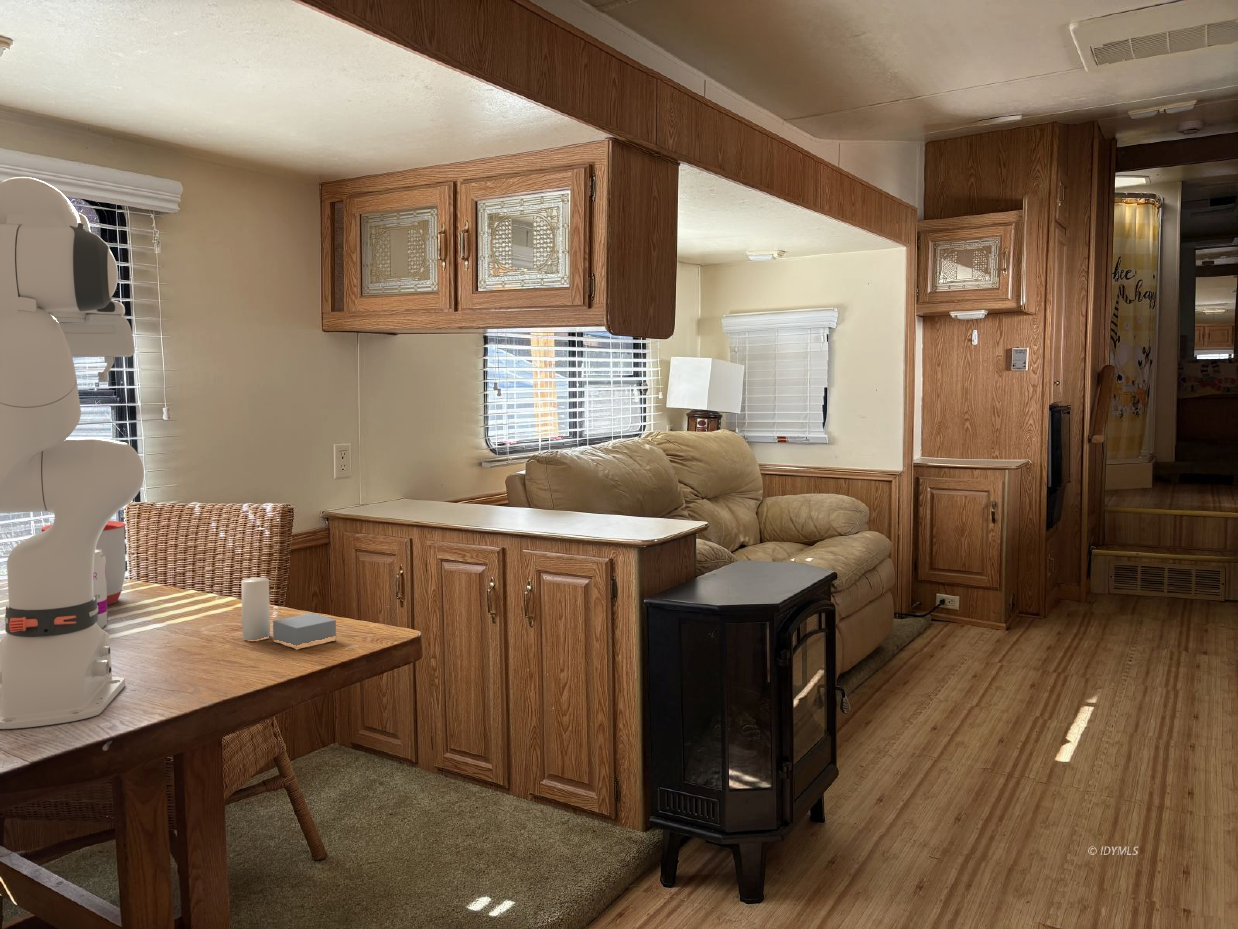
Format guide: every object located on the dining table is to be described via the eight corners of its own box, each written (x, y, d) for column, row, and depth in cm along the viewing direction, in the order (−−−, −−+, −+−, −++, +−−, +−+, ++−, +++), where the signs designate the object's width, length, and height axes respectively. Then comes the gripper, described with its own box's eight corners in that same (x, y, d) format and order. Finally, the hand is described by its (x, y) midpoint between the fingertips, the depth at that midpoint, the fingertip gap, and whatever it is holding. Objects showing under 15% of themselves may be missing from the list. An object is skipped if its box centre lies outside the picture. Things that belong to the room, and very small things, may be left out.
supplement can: (91, 621, 187) (89, 546, 185) (116, 626, 182) (113, 550, 181) (49, 630, 180) (46, 552, 178) (74, 636, 175) (71, 557, 174)
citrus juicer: (21, 607, 197) (17, 513, 196) (105, 592, 212) (102, 505, 210) (58, 618, 189) (54, 519, 187) (143, 602, 203) (140, 510, 201)
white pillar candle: (271, 640, 174) (269, 581, 173) (243, 642, 172) (242, 583, 171) (269, 633, 179) (267, 576, 178) (241, 636, 177) (240, 578, 176)
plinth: (336, 641, 174) (335, 620, 173) (296, 650, 168) (296, 628, 167) (312, 633, 179) (311, 613, 179) (273, 642, 173) (273, 620, 172)
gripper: (-4, 300, 160) (1, 382, 160) (131, 303, 168) (135, 381, 169) (2, 305, 165) (7, 383, 166) (133, 307, 174) (137, 382, 175)
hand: (73, 382), depth 168 cm, fingers open, 8 cm apart
